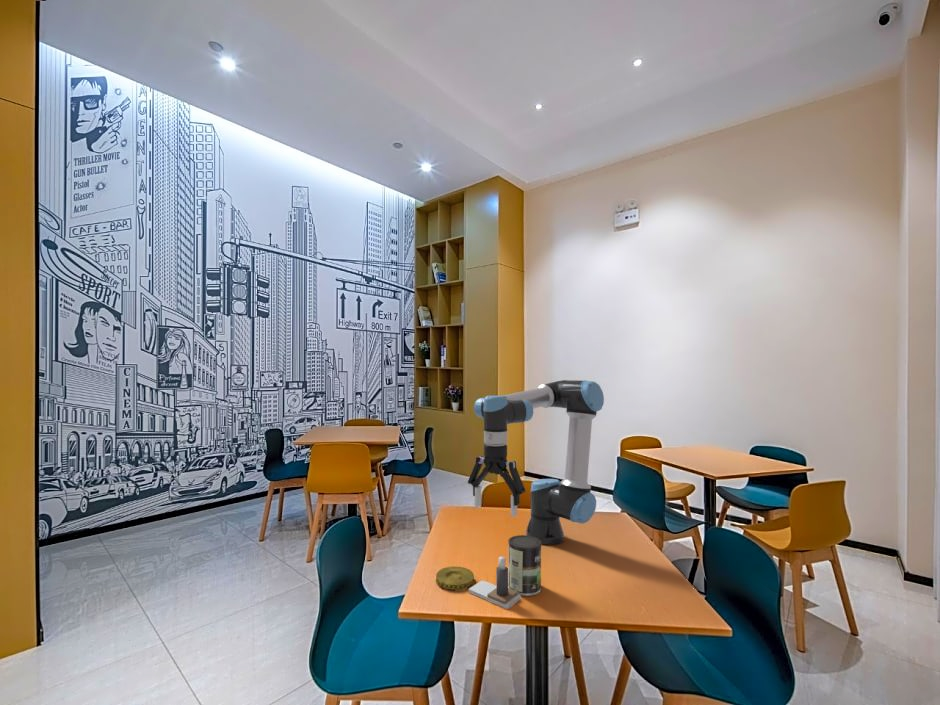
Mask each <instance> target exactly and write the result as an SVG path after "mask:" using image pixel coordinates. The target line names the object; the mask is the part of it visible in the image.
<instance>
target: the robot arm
mask: <svg viewBox="0 0 940 705" xmlns="http://www.w3.org/2000/svg"><path fill="white" fill-rule="evenodd" d="M604 402H605V397H604V392H603V389H602V388H601V386H600V384H599V383H597V382H596V381H592V380H586V379H585V380H576V379H575V380H574V379H573V380H568V379H567V380H566V379H565V380H564V379H563V380H557V381H553V382H552V381H551V382H548V383H544V384H540V385H539V386H537V388H534V389H533V388H532V389H527V390H524V391H518V392H513V393H509V394H503V395H495V394H494V395H486V396H485V397H480V398H478V399H476V401H475V402H474V405H473V412H474V413H475V415H476V417H478V418H479V419H482V420H483V444H484V445H483V455H481V456H477V457H475V464H474V465H473V469H472V470H471V473H470V476H469V478H468V480H467V484H468V485H471V486H472V495H473V496H472V497H474V508H475V509H478V508H480V507H482V485H481V483H482V482H483V481H484V479H485V478H486V477H487V476H488V474H495V475H499V476H500V477H501V478H502V480H504V482H505V484H506V486H508V488H509V490H510V492H511V493H512V494H510V517H511V518H514V517H516V516H517V515H518V506H519V505H520V502H521V501H520V499H521V497H520V496H521V495H522V494H524V493H525V492H526V489H525V485H524V483H523V481H522V478H521V476H520V474H519V470H518V469H517V462H516V461H515V460H513V461H508V458H507V457H508V445H507V444H508V425H509V424H518V423H522V424H523V423H527V422H529V421H530V420H532V418H533V416H534V409H538V408H544V409H547V408H559V409H560V408H561V409H566V410H565V413H566V414H567V415H568V416H569V423H568V434H567V444H566V445H567V447H566V449H567V450H566V457H565V458H566V459H565V468H564V469H565V471H564V478H563V479H562V480H561V481H560V480H559V479H556V478H541V479H535V480H534V481H532V482H531V486H530V518H529V521H528V525H527V527H526V531H525V532H526V533H525V535H527V536H532V537H535V538H537V539H539V540H540V541H541V545H548V546H549V545H550V546H551V545H558V544H561V543H562V542H563V541H564V539H565V535H564V530H563V526H562V523H561V520H560V518H562V519H565V520H567V521H571V522H572V523H578V524H583V525H584V524H586V523H588V522H589V521H590V520H591V519H592V517H594V514H595V512H596V508H597V499H596V495H595V494H593V493H592V492H591V489H592V486H591V485H590V484H589V483H588V478H589V477H588V475H589V463H590V450H591V448H590V447H591V439H592V438H591V437H592V435H591V434H592V425H593V420H594V419H595V418H596V417H597V414H598V412H600V411H601V410H602V409H603V406H604ZM483 464H484V466H485V467H484V468H482V466H483ZM481 468H482V471H481V472H480V470H481ZM508 469H509V470H508ZM479 473H480V474H479Z"/></svg>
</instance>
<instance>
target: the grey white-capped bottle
mask: <svg viewBox="0 0 940 705" xmlns="http://www.w3.org/2000/svg"><path fill="white" fill-rule="evenodd" d="M506 560H507V559H506V557H505V556H499V557H498V566H497V567H496V570H495V571H496V575H495V578H496V586H497V595H499V596H507V595H508V572H509V567H507V565H506V564H507V563H506Z"/></svg>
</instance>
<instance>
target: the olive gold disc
mask: <svg viewBox="0 0 940 705" xmlns="http://www.w3.org/2000/svg"><path fill="white" fill-rule="evenodd" d="M474 578H475V574H474V572H473V571H472V570H470V569H469V568H467V567H464V566H463V567H462V566H455V565H454V566H446V567H443V568H441V569H439V570H437V572H436V575H435V583H436V586H438V588H444V589H447V590H453V591H454V592H462V591H465V590H467V588H470V587H471V586H472V585H473V583H474V581H475V579H474Z"/></svg>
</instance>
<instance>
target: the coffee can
mask: <svg viewBox="0 0 940 705" xmlns="http://www.w3.org/2000/svg"><path fill="white" fill-rule="evenodd" d="M507 544H508V588H510V589H512V590H515V591H517V592H518V595H520V596H521V597H522V596H524V597H531V596H536V595H537V594H539V593H541V591H542V587H541V586H542V583H541V582H542V577H541V576H542V544H541V541H540V540H539V539H537V538H535V537H532V536H527V535H526V534H522V535H521V534H519V535H513V536H511V537H509V538H508V542H507Z"/></svg>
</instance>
